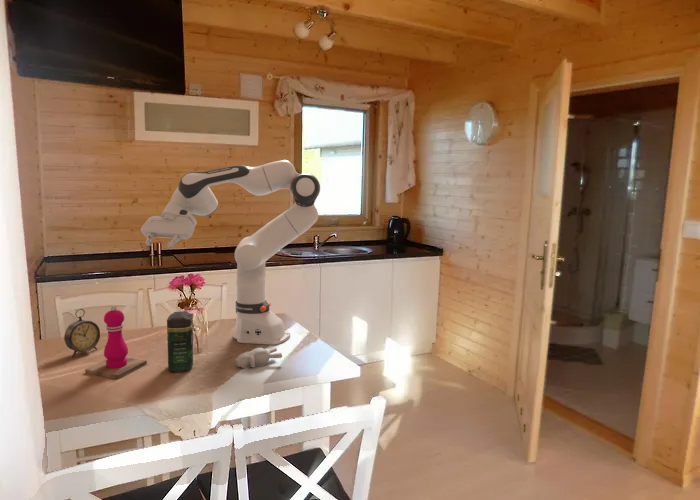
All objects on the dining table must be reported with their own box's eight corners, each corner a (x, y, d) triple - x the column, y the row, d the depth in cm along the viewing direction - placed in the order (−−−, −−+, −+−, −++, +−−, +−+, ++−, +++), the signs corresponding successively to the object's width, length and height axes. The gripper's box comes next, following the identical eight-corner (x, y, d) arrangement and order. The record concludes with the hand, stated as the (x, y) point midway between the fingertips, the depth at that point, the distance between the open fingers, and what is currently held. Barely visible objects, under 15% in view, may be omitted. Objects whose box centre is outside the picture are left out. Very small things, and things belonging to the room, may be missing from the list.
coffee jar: (192, 372, 165) (190, 317, 162) (166, 374, 163) (164, 318, 160) (194, 361, 174) (193, 308, 171) (170, 362, 172) (168, 310, 169)
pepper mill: (122, 369, 163) (119, 309, 160) (100, 368, 163) (96, 308, 160) (132, 361, 170) (129, 303, 167) (111, 360, 170) (108, 302, 167)
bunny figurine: (232, 351, 173) (273, 340, 180) (234, 365, 174) (275, 354, 181) (239, 361, 165) (282, 349, 171) (241, 375, 166) (284, 363, 172)
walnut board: (146, 363, 171) (146, 360, 171) (118, 378, 159) (118, 375, 159) (115, 358, 175) (115, 355, 175) (85, 373, 163) (85, 369, 162)
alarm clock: (71, 359, 174) (68, 313, 171) (63, 356, 176) (59, 310, 174) (102, 350, 183) (99, 306, 180) (93, 347, 186) (90, 304, 183)
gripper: (147, 209, 192) (130, 238, 185) (193, 212, 186) (178, 242, 179) (155, 220, 197) (139, 248, 190) (201, 223, 191) (186, 252, 183)
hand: (158, 245), depth 184 cm, fingers open, 8 cm apart
